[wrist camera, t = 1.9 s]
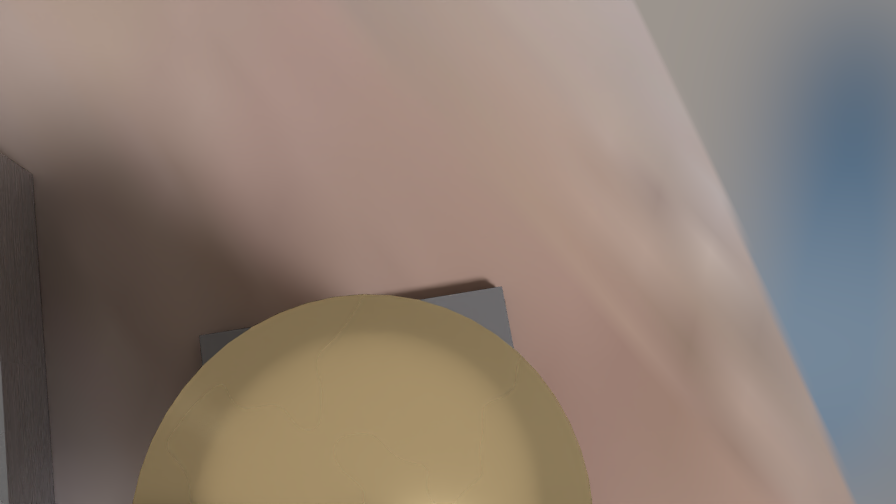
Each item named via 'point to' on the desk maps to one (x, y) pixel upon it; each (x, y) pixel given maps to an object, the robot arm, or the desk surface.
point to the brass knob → (365, 416)
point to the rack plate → (21, 348)
